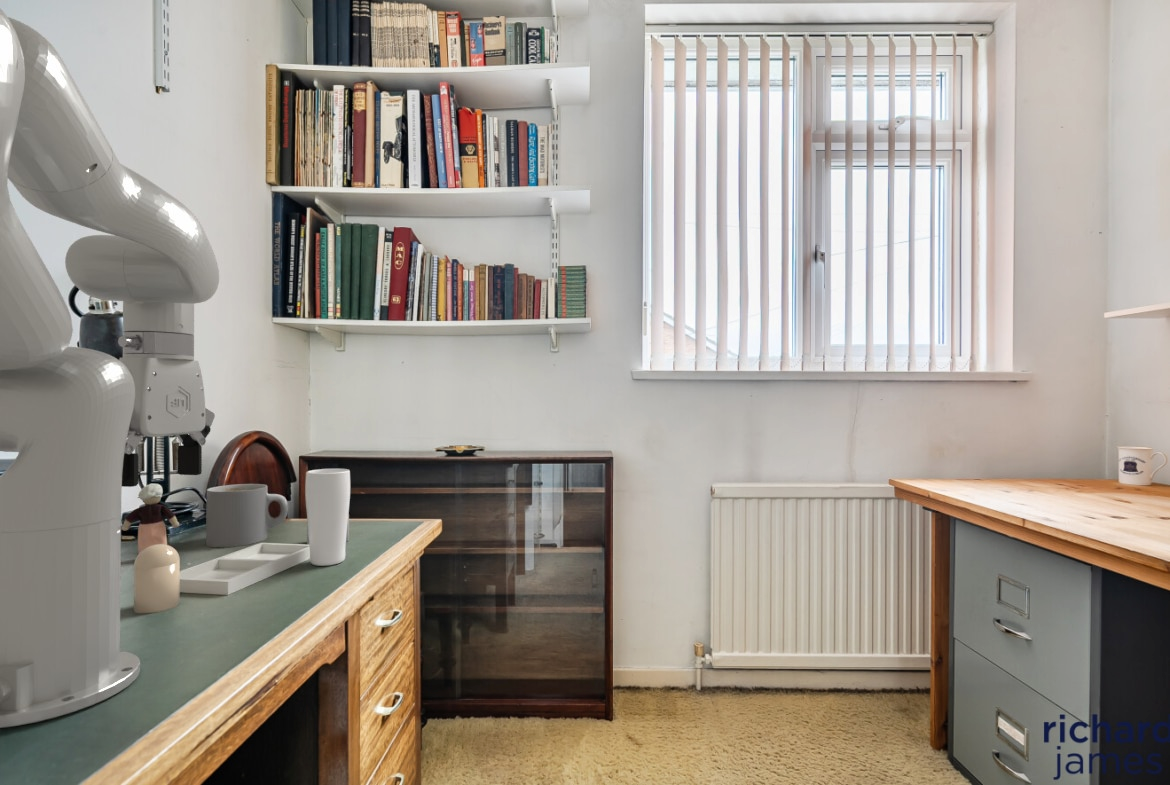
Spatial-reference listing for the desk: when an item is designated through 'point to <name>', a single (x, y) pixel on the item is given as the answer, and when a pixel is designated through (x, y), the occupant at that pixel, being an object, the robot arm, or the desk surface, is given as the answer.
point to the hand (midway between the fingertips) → (159, 479)
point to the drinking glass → (327, 514)
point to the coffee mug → (240, 514)
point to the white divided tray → (242, 568)
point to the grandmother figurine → (150, 518)
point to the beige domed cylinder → (156, 579)
